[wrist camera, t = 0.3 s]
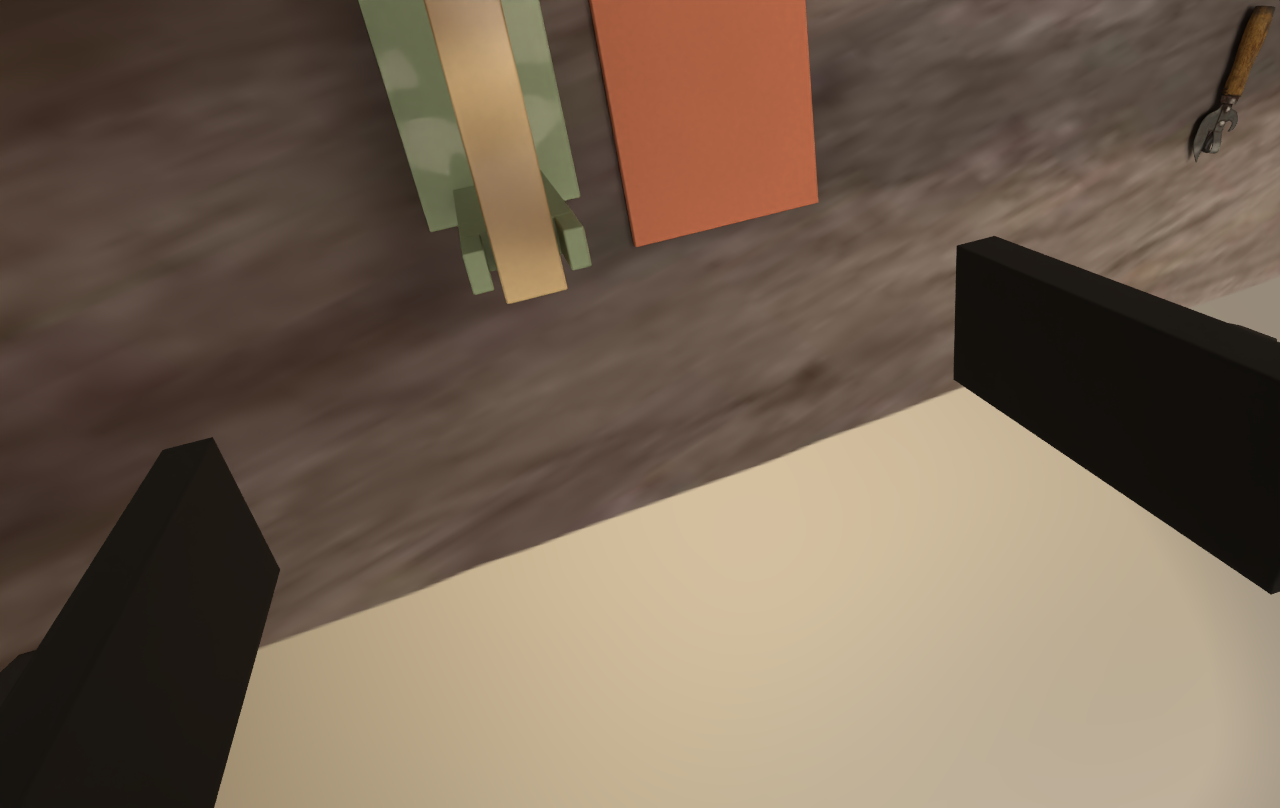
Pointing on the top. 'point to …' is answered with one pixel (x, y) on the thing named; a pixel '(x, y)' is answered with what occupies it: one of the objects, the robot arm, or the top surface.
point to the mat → (707, 110)
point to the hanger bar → (498, 144)
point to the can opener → (1234, 82)
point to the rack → (435, 134)
